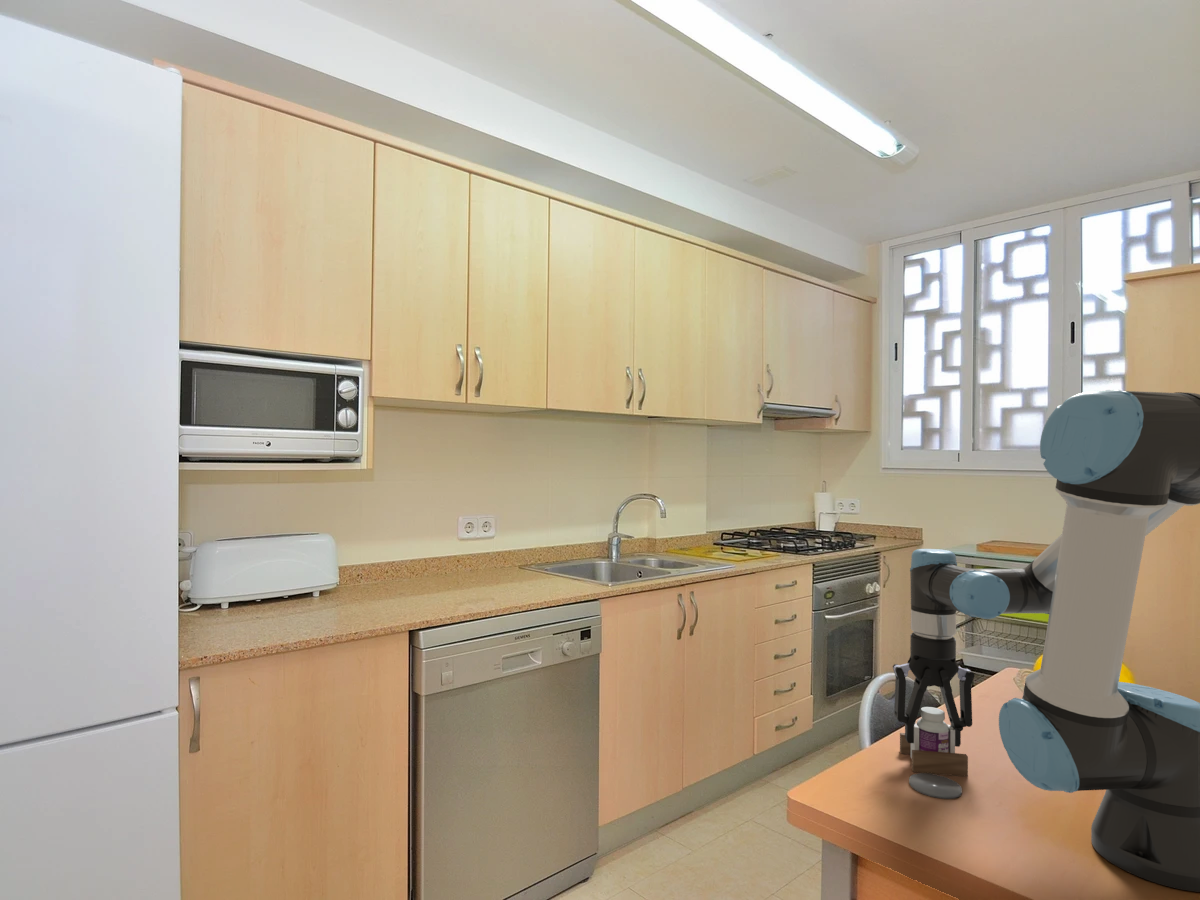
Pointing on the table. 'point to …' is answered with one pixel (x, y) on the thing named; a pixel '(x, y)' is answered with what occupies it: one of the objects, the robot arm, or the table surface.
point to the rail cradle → (935, 760)
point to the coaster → (935, 785)
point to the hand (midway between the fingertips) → (932, 761)
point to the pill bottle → (933, 730)
